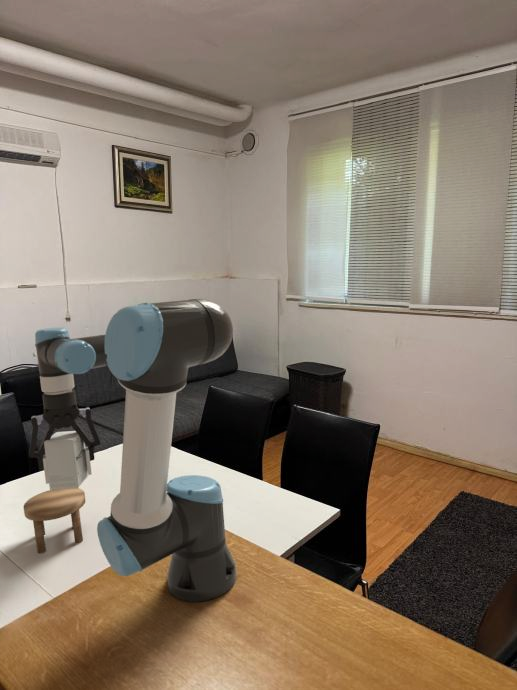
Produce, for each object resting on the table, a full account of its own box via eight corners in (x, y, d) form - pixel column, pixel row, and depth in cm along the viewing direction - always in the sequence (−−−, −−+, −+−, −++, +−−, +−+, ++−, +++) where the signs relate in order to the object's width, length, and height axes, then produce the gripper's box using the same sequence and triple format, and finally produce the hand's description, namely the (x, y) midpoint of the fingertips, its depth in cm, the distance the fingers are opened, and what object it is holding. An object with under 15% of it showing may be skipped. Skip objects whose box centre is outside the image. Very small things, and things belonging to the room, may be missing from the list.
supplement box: (78, 488, 117) (72, 439, 115) (49, 490, 117) (42, 441, 115) (89, 476, 125) (84, 429, 123) (61, 477, 125) (55, 431, 123)
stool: (92, 543, 124) (87, 503, 123) (28, 560, 118) (22, 519, 117) (86, 518, 138) (82, 482, 136) (29, 533, 132) (24, 495, 130)
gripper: (103, 381, 125) (111, 462, 129) (9, 394, 116) (21, 481, 120) (106, 387, 118) (115, 472, 122) (7, 401, 109) (20, 493, 113)
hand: (68, 477), depth 121 cm, fingers closed on supplement box, 9 cm apart
